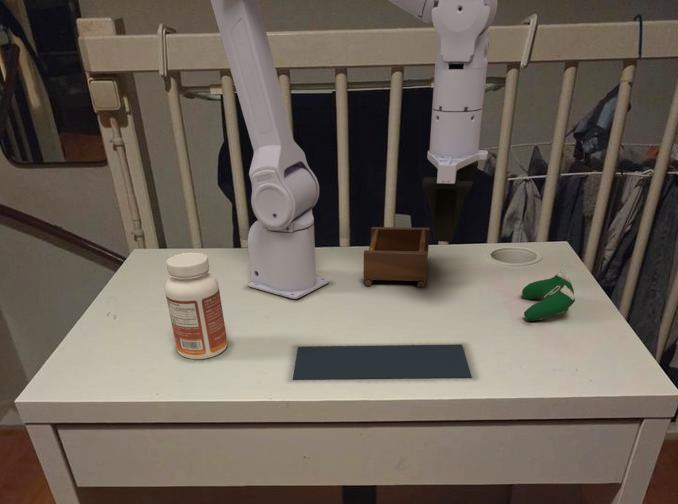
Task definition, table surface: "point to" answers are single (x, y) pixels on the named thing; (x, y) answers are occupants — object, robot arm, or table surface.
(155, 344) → the table surface
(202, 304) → the pill bottle
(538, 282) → the green slippers
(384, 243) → the brown wooden box
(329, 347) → the mat
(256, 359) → the table surface
